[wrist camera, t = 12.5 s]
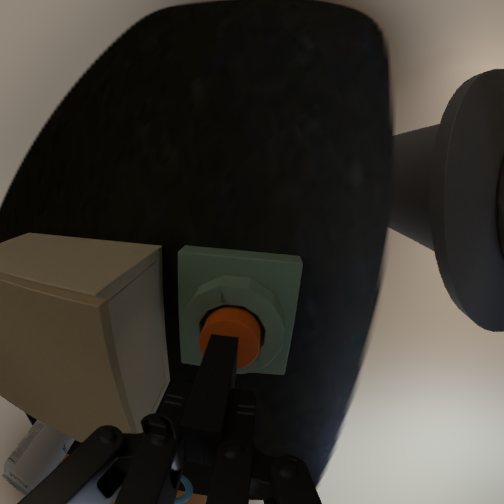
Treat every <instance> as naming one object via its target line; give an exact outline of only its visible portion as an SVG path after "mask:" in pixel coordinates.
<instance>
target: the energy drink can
mask: <svg viewBox="0 0 504 504" xmlns="http://www.w3.org/2000/svg"><path fill="white" fill-rule="evenodd" d="M74 440H75V439H73V438H71V437H69V436H67V435H65V434H63V433H61V432H59V431H57V430H55V429H53V428H51V427H50V426H48V425H46V424H44V423H42V422H41V421H39V420H37V421H36V422H35V424H34V425H33V426H32V428H31V429H30V430H29V431H28V433H27V434H26V435H25V437H24V438H23V439H22V440H21V442H20V443H19V444H18V446H17V447H16V449H15V450H14V451H13V452H12V454H11V455H10V457H9V458H8V459H7V461H6V462H5V464H4V474H3V475H2V476H3V477H4V478H5V479H6V480H7V481H8V482H9V483H10V484H11V485H12V486H13V487H15V488H16V489H17V490H18V491H20V492H21V493H22V494H23V495H25V496H26V495H27V494H28V493H29V492H31V491H32V490H33V489H34V488H35V487H36V486H37V485H38V484H39V483H40V482H41V481H42V480H43V479H44V478H46V477H47V476H48V475H49V474H50V473H51V472H52V471H53V470H54V469H55V468H56V467H57V466H58V465H59V464H60V462H61V461H62V459H63V457H64V456H65V454H66V453H67V451H68V449H69V448H70V446H71V445H72V443H73V442H74Z"/></svg>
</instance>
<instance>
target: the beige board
mask: <svg viewBox="0 0 504 504" xmlns="http://www.w3.org/2000/svg"><path fill="white" fill-rule="evenodd" d="M0 395H1V396H2V397H3V398H5V399H6V400H8V401H9V402H11V403H12V404H14V405H15V406H16V407H18V408H19V409H21V410H23V411H24V412H26V413H27V414H29V415H31V416H32V417H34V418H36V419H37V420H39V421H41V422H42V423H44V424H46V425H48V426H50V427H51V428H53V429H55V430H57V431H59V432H61V433H63V434H65V435H67V436H69V437H71V438H73V439H75V440H77V441H79V442H81V443H82V442H83V441H84V440H85V439H86V438H87V437H88V436H90V435H91V434H92V433H93V432H94V431H95V430H96V429H97V428H99V427H100V426H104V425H112V426H115V427H117V428H119V429H120V430H121V431H122V433H134V434H136V433H138V432H137V429H136V426H135V422H134V419H133V416H132V413H131V409H130V406H129V402H128V399H127V395H126V391H125V387H124V383H123V379H122V375H121V371H120V367H119V362H118V357H117V353H116V348H115V342H114V337H113V331H112V325H111V319H110V313H109V306H108V300H107V299H103V298H99V297H94V296H89V295H85V294H80V293H76V292H71V291H67V290H63V289H59V288H55V287H51V286H47V285H43V284H39V283H35V282H31V281H28V280H24V279H21V278H17V277H14V276H10V275H7V274H3V273H0Z"/></svg>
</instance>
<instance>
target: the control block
mask: <svg viewBox="0 0 504 504" xmlns="http://www.w3.org/2000/svg"><path fill="white" fill-rule="evenodd" d="M302 267H303V263H302V260H301V257H300V256H294V255H284V254H273V253H262V252H252V251H241V250H231V249H220V248H209V247H199V246H188V245H185V246H184V247H183V248H182V249H180V250H179V251H178V305H179V331H180V350H181V362H182V363H186V364H192V365H199V366H200V364H201V361H202V359H203V356H204V355H203V353H202V352H201V349H200V346H199V337H200V334H201V331H202V329H203V327H204V324H205V322H206V320H207V318H208V316H209V315H210V314H211V313H212V312H214V311H215V310H217V309H220V308H223V307H238V308H241V309H244V310H246V311H248V312H249V313H251V314H252V315H253V316H254V317H255V318H256V320H257V321H258V323H259V325H260V329H261V337H260V350H259V353H258V356H257V357H256V359H255V360H254V361H253V362H252V363H250V364H249V365H247V366H245V367H243V368H239V369H237V370H236V374H245V373H248V372H254V373H266V374H279V375H284V374H285V370H286V365H287V359H288V354H289V349H290V343H291V337H292V332H293V326H294V320H295V314H296V307H297V301H298V295H299V288H300V281H301V275H302Z"/></svg>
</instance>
